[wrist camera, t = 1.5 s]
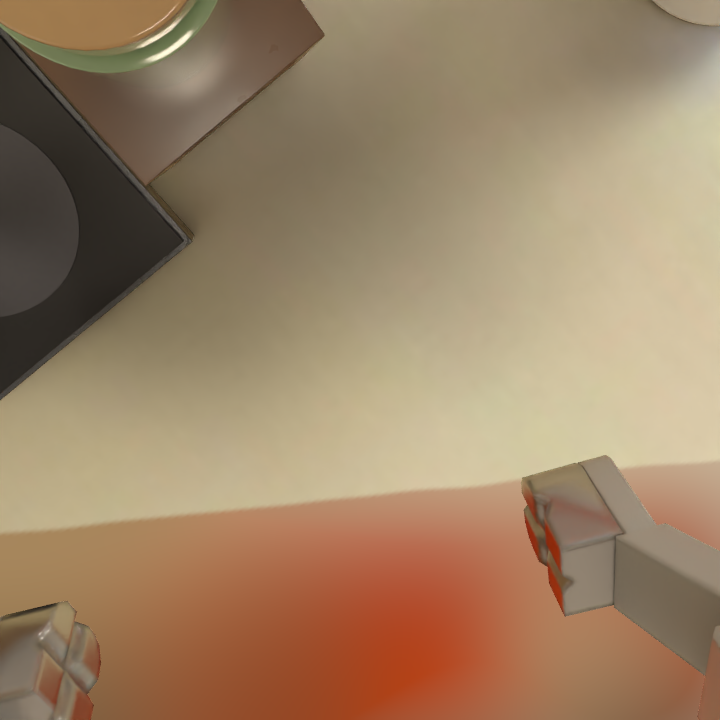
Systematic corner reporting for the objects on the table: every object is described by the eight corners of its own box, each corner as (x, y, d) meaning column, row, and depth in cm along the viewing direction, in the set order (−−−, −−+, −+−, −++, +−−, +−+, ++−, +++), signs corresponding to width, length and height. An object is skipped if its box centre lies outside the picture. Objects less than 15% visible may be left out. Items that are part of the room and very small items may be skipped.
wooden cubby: (167, -124, 32) (135, -240, 22) (299, 59, 35) (325, 35, 25) (27, 0, 32) (-69, -56, 22) (171, 167, 36) (145, 186, 26)
